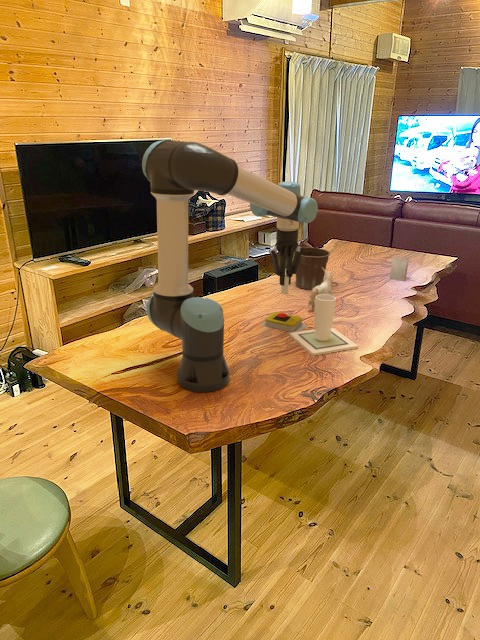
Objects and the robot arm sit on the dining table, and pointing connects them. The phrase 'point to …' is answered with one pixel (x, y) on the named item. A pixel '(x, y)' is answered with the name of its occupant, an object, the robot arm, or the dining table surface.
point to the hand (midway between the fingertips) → (284, 293)
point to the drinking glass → (324, 316)
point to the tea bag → (399, 269)
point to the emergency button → (284, 322)
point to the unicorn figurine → (321, 288)
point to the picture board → (322, 342)
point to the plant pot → (311, 267)
